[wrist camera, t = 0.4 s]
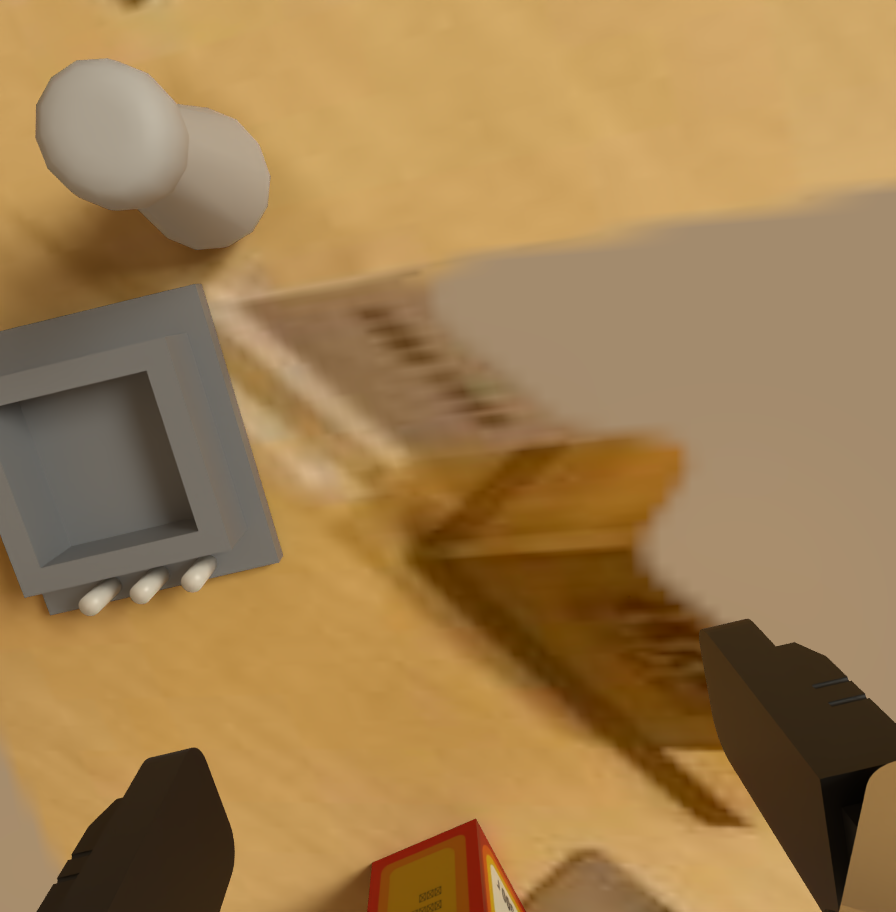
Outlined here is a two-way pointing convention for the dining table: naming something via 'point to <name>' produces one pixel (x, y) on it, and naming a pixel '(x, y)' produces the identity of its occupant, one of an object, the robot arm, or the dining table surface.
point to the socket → (125, 455)
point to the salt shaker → (151, 154)
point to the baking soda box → (443, 876)
